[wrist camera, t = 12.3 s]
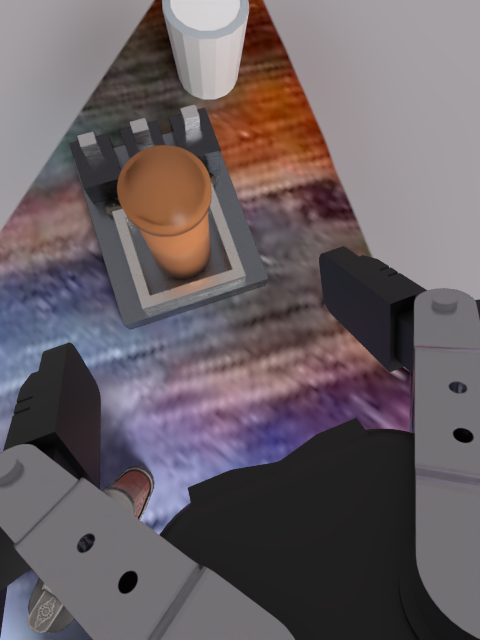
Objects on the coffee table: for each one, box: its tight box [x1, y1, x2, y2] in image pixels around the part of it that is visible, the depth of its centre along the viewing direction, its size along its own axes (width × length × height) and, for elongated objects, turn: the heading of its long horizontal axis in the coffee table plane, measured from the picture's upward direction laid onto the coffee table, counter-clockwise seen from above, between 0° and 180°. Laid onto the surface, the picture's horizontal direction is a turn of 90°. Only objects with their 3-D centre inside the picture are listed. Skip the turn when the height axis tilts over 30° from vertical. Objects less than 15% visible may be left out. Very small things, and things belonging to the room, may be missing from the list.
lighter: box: [28, 466, 155, 633], centre depth 24 cm, size 8×3×10 cm, turn 149°
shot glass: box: [162, 0, 249, 99], centre depth 33 cm, size 7×7×7 cm
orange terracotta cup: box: [117, 145, 212, 279], centre depth 26 cm, size 5×5×10 cm
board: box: [70, 105, 268, 330], centre depth 31 cm, size 12×15×6 cm
